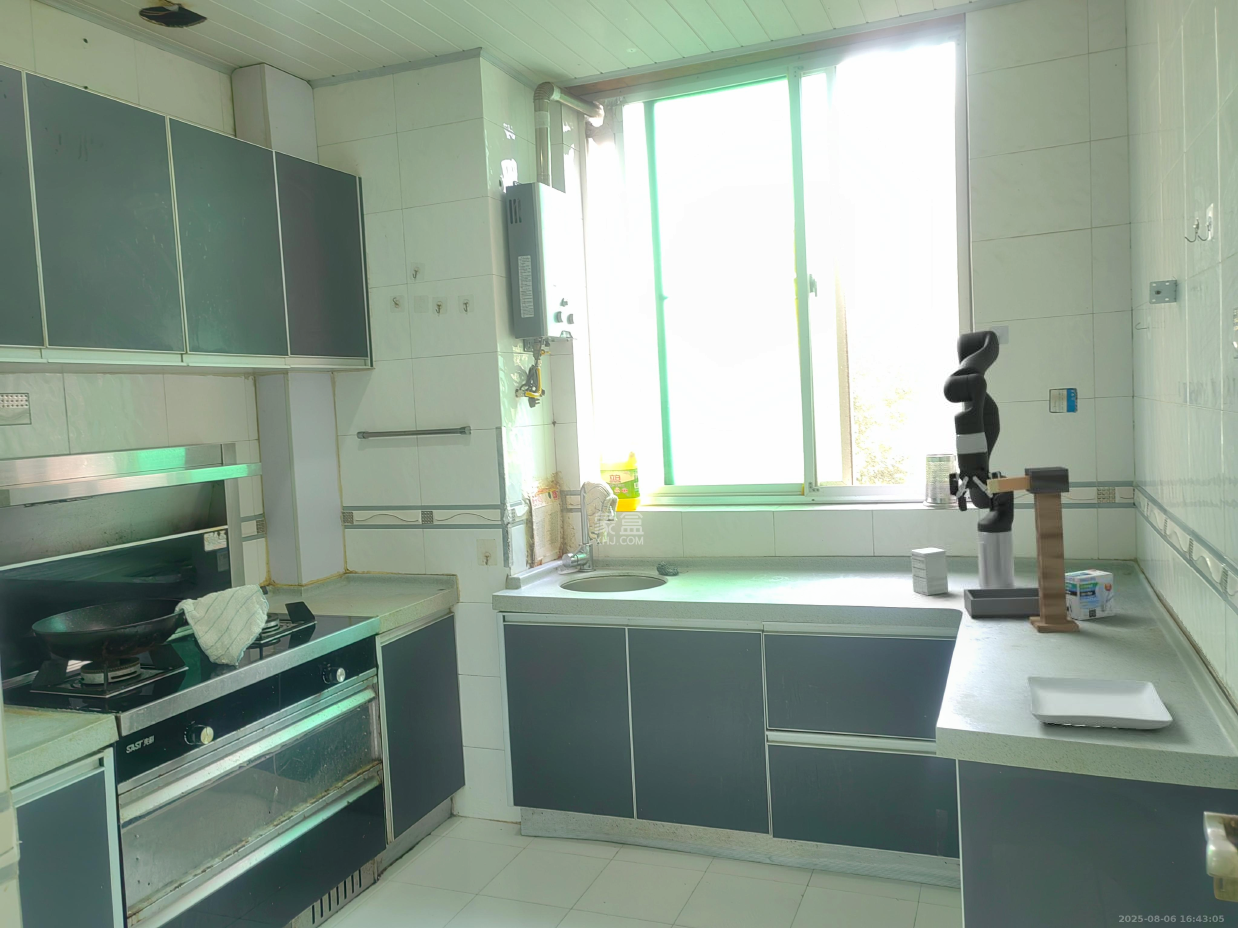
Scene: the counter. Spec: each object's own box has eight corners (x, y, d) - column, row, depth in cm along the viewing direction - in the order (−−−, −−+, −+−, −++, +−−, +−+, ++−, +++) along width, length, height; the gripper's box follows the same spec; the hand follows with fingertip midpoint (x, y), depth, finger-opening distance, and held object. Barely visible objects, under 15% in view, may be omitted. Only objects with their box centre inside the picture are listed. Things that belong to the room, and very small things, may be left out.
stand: (1029, 622, 223) (1021, 468, 221) (1069, 622, 220) (1061, 466, 218) (1037, 631, 214) (1029, 471, 212) (1079, 631, 212) (1071, 469, 210)
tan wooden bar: (988, 491, 220) (986, 479, 220) (1049, 485, 217) (1048, 473, 216) (990, 493, 217) (988, 480, 217) (1052, 486, 214) (1051, 473, 214)
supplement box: (934, 588, 270) (931, 546, 269) (949, 592, 263) (946, 549, 262) (912, 591, 268) (909, 549, 268) (927, 595, 261) (924, 552, 260)
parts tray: (964, 607, 244) (963, 589, 243) (1044, 605, 239) (1043, 587, 239) (971, 618, 231) (970, 599, 231) (1056, 617, 226) (1055, 597, 226)
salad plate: (1175, 739, 146) (1175, 718, 146) (1032, 731, 154) (1031, 711, 154) (1152, 697, 165) (1151, 679, 165) (1025, 692, 173) (1024, 675, 173)
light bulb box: (1080, 620, 221) (1078, 577, 221) (1060, 615, 228) (1058, 573, 227) (1116, 615, 224) (1114, 572, 223) (1095, 610, 230) (1093, 568, 230)
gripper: (939, 453, 240) (946, 513, 241) (988, 451, 229) (995, 513, 230) (956, 450, 245) (962, 508, 246) (1004, 447, 233) (1011, 509, 234)
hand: (978, 511), depth 238 cm, fingers open, 8 cm apart
